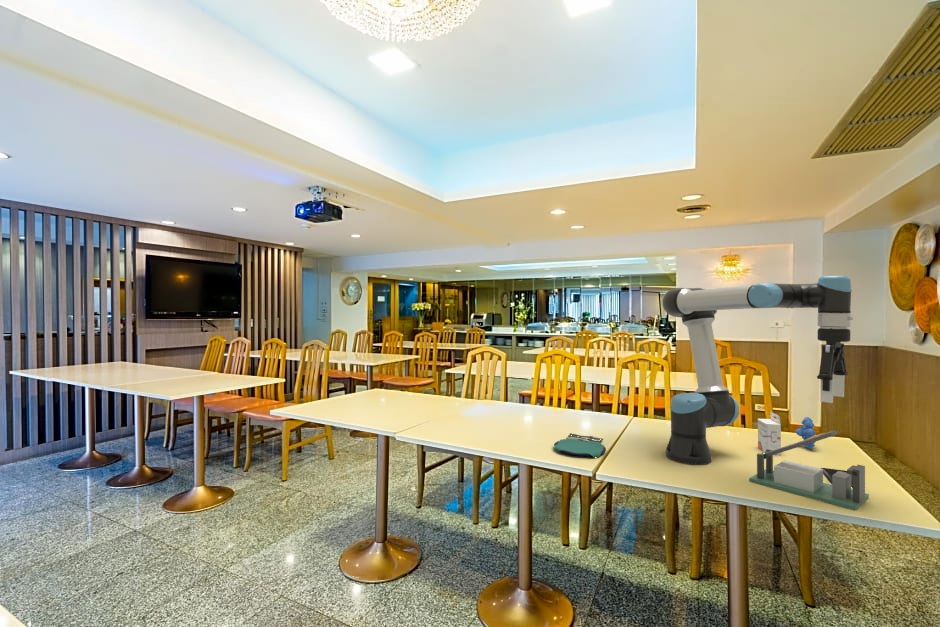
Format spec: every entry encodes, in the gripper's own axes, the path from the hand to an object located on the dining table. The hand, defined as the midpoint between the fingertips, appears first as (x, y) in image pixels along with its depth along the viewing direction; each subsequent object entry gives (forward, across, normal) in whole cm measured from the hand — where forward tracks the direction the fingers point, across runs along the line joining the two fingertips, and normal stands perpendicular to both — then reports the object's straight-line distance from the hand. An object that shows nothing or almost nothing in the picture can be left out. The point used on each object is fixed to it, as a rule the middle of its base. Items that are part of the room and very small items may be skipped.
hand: (832, 399), depth 130 cm
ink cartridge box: (+29, +32, +25) cm, 50 cm away
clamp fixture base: (+28, -2, +6) cm, 29 cm away
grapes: (+29, +48, +18) cm, 59 cm away
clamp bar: (+16, -2, +8) cm, 18 cm away
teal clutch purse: (+30, -20, +75) cm, 83 cm away
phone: (+29, +17, +1) cm, 33 cm away
